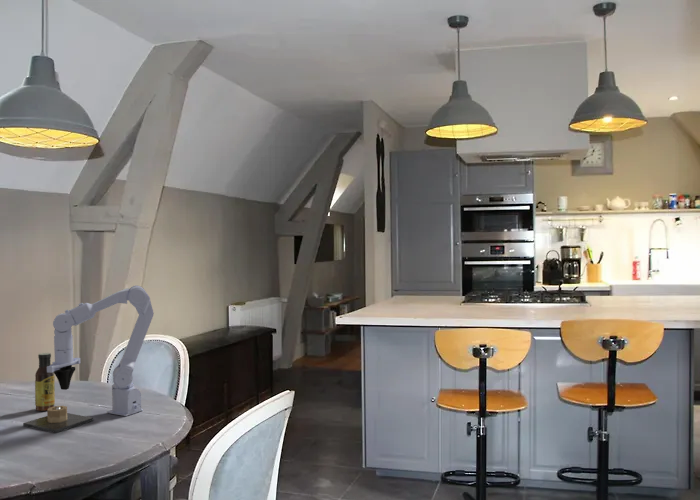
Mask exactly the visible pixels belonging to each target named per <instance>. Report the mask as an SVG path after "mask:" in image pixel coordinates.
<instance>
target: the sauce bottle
mask: <svg viewBox="0 0 700 500" xmlns="http://www.w3.org/2000/svg"><path fill="white" fill-rule="evenodd" d="M37 356H38V357H37V358H38V368H37V370H36V372H35V375H34V376H35V381H34V386H35V387H34V389H35V390H34V392H35V393H34V395H35V396H34V398H35V399H34V401H35V404H34V405H35V411H37V412H45V411H47V410H48V408H51V407H54V406H55V401H56V397H55V396H56V394H55V389H56V388H55V377H56V375H55V374H54V373H53V372H52V373H51V372H47V366H50V365H51V359H52V354H51V352H42V353H38V355H37Z"/></svg>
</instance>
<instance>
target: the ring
mask: <svg viewBox="0 0 700 500" xmlns="http://www.w3.org/2000/svg"><path fill="white" fill-rule="evenodd" d="M57 407H60V408H61V409H59V410H55V409H56V408H57ZM67 413H68V406H66V405H57V406H56V405H54V407H51V408H48V410H47V413H46V414H47V415H46V416H47V417H48V422H49V423H60V422H63V421H66V420H67Z"/></svg>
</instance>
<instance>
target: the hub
mask: <svg viewBox="0 0 700 500" xmlns="http://www.w3.org/2000/svg"><path fill="white" fill-rule="evenodd" d="M59 409H61V408H60V407H57V408H56V409H55V410H59ZM93 421H94V418H93V417H91V416H86V415H80V414H75V413H69V412H67V420H66V421H63V422H60V423H49V422H48V417H47V415H46V416H43V417H38V418H36V419H32V420H29V421H25V422H23V426H22V427H26V428H30V429H36V430H41V431H44V432H49V433H55V434H57V433H60V432H63V431H67V430H69V429H72V428H76V427H78V426H82V425H84V424H87V423H90V422H93Z"/></svg>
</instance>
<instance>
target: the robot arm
mask: <svg viewBox="0 0 700 500" xmlns="http://www.w3.org/2000/svg"><path fill="white" fill-rule="evenodd" d="M128 302H129V303H130V304H131V305H132V306H133V307H134V308H135V309H136V312H137V314H138V316H137V319H136V322H135V323H134V327H133V329H132V331H131V334H130V337H129V339H128V342H127V345H126V348H125V350H124V352H123V355H122V357H121V359H120V361H119V364H118V365H117V366H116V367H115V368H114V369H113V371H112V381H113V384H112V385H111V401H112V403H111V404H112V405H111V406H112V409H110V410H108V411H106V414H112V415H117V416H122V417H127V416H131V415H135V414H136V413H139V412H142V411H144V409H143V408H142V394H141V391H140V389H139V388H137V387H135V384H134V382H133V372H134V369H135V365H136V361H137V359H138V356H139V354H140V351H141V348H142V346H143V343H144V341H145V339H146V335H147V333H148V330H149V327H150V326H151V323H152V320H153V317H154V313H155V312H154V309H153V306H152V305H153V304H152V302H151V298H150V296H149V294H148V293H147V291H146V290H145V289H144V287H142V286H140V285H133V286H131V287H128V288H124V289H122V290H118V291H116V292H115V293H112V294H110V295H108V296H106V297H104V298H102V299H100V300H98V301H96V302H93V303H89V302H84V303H83V302H80V303H78V306H76V307H73V308H71V309H69V310H68V309H65V310H64V312H62V313H58V314H57V315H55V318H54V320H53V322H52V326H53V329H54V330H53V332H54V333H53V334H54V335H53V345H54V348H53V349H54V361H52V364H51V363H50V364H51V365H50V366H47V372H51V373H52V372H53V373H54V376H55V377H56V378H57V382H58V383H59V387H60V390H64V391H66V390H69V388H70V384H71V381H72V378H73V375H74V373H75V371H76V366H74V365H80V364H81V363H82V362H81V357H74V344H73V343H74V342H73V341H74V337H73V336H74V335H73V334H72V332H73V331H72V326H74V327H76V326H78V325H81V324H83V323H85V322H87V321H89V320H92V319H94V318H95V316H96V313H97V312H100V311H102V310H105V309H106V308H110V307H112V306H115V305H117V304H126V305H127V304H128Z"/></svg>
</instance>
